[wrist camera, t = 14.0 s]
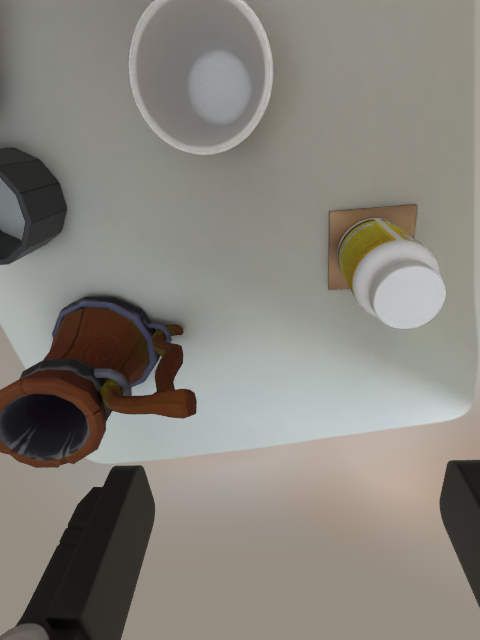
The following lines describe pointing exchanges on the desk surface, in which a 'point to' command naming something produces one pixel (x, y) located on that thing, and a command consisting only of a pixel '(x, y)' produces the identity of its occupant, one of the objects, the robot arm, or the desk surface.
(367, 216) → the cork coaster
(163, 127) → the dixie cup
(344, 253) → the pill bottle
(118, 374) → the mug
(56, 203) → the cup
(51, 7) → the desk surface
